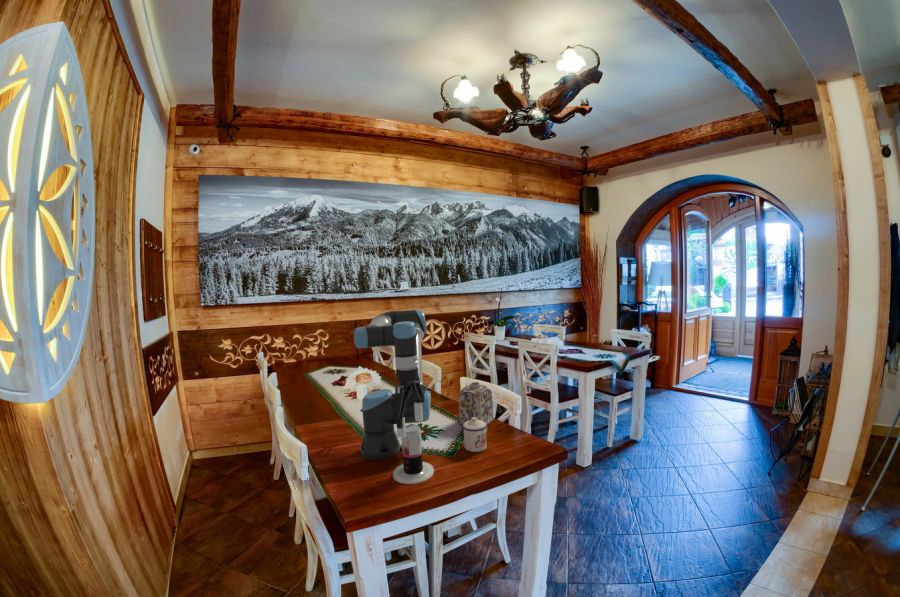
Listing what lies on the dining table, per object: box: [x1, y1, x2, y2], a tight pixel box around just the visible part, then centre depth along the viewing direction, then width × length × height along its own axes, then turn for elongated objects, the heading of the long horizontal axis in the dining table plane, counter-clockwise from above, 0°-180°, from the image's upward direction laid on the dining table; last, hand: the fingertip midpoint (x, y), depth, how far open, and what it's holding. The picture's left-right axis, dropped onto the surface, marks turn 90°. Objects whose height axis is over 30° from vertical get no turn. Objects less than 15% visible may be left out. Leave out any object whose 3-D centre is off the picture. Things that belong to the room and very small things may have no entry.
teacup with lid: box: [462, 417, 488, 453], centre depth 146 cm, size 12×9×12 cm
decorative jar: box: [458, 381, 494, 426], centre depth 170 cm, size 12×12×18 cm
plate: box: [392, 461, 435, 485], centre depth 128 cm, size 14×14×1 cm
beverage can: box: [401, 424, 424, 475], centre depth 128 cm, size 7×7×15 cm
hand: (410, 428), depth 128 cm, fingers open, 13 cm apart
